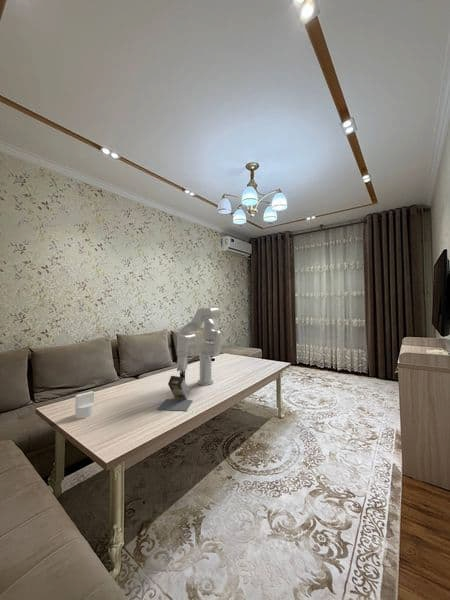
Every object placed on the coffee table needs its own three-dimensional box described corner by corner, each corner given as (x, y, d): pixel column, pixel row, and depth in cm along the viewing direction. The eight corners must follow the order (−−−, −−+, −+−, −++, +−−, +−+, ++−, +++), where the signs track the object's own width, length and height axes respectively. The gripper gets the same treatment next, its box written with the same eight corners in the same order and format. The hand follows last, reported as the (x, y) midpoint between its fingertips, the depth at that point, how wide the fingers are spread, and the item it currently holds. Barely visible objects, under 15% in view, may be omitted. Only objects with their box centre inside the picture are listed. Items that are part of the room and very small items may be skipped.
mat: (165, 399, 162) (165, 398, 162) (192, 400, 161) (192, 400, 161) (156, 409, 146) (156, 409, 146) (186, 411, 145) (186, 410, 145)
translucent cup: (89, 410, 145) (89, 389, 146) (96, 414, 140) (96, 393, 140) (72, 415, 138) (73, 394, 139) (79, 420, 133) (79, 398, 133)
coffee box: (174, 398, 165) (167, 384, 155) (177, 389, 169) (170, 375, 160) (187, 399, 162) (180, 385, 153) (190, 391, 167) (183, 376, 158)
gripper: (180, 351, 174) (180, 377, 173) (173, 355, 159) (173, 384, 159) (190, 351, 173) (190, 377, 173) (185, 355, 158) (185, 384, 158)
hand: (182, 380), depth 166 cm, fingers closed
